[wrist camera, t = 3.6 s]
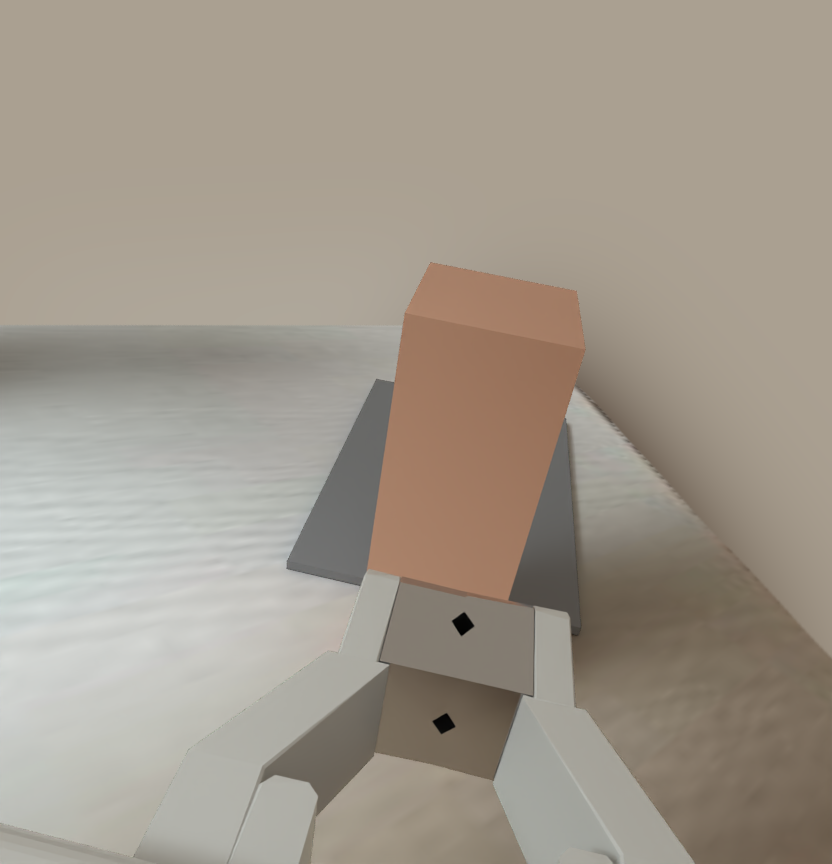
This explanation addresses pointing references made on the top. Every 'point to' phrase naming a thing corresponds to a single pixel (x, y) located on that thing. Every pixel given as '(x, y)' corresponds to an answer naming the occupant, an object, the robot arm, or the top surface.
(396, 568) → the terracotta block
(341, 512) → the charcoal mat
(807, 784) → the top surface
